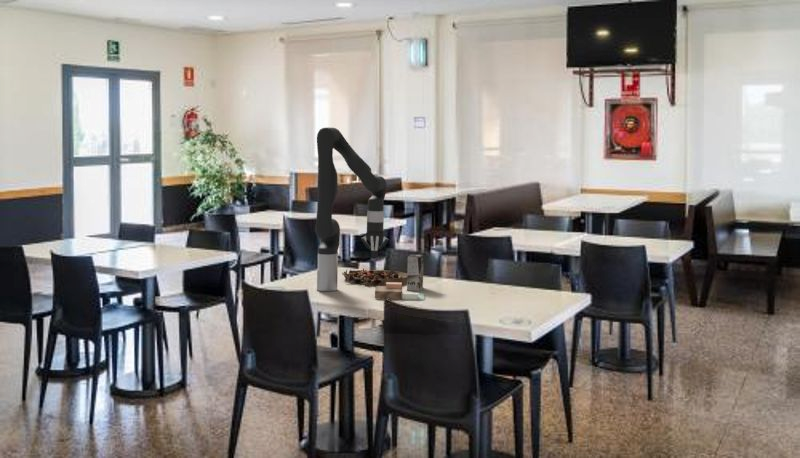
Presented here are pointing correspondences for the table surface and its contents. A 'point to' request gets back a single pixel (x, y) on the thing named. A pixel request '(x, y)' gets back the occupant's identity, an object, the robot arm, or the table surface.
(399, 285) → the terracotta card
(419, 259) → the coffee box
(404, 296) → the cream card
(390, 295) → the deck
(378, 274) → the dried twig wreath
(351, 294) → the table surface
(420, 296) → the mat
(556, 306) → the table surface
